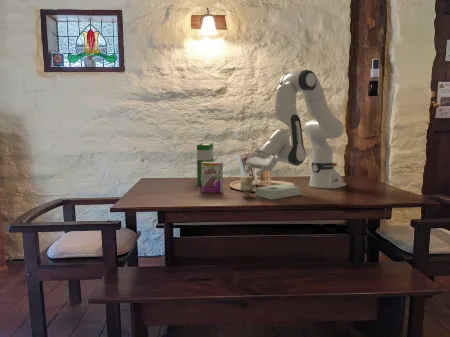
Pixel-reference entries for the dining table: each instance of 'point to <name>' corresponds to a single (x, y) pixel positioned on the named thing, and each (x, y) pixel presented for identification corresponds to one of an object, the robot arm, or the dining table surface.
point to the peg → (246, 185)
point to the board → (277, 191)
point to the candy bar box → (211, 177)
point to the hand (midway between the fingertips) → (252, 173)
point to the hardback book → (203, 157)
